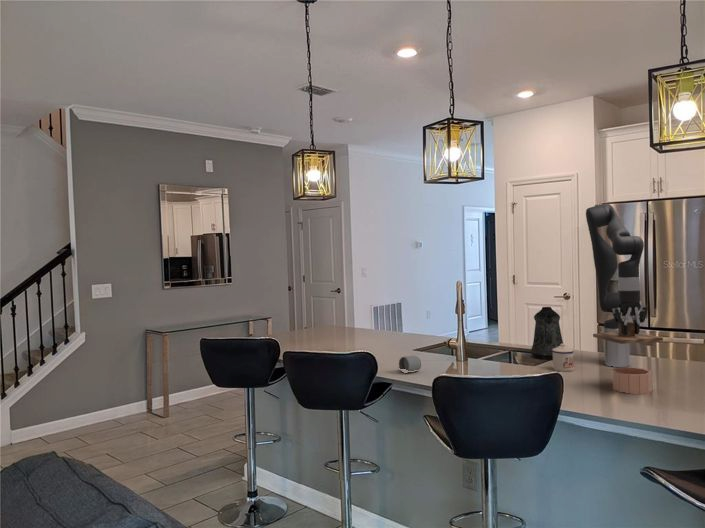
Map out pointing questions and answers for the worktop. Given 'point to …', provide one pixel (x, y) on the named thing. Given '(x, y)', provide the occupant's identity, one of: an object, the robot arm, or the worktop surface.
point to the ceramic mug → (410, 363)
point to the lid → (627, 336)
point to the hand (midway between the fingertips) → (630, 334)
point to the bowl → (632, 380)
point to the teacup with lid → (563, 358)
